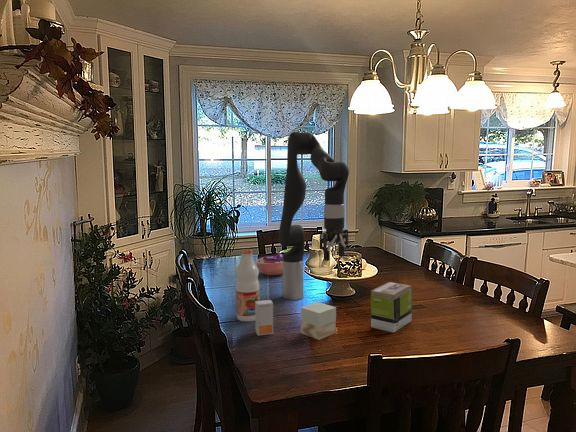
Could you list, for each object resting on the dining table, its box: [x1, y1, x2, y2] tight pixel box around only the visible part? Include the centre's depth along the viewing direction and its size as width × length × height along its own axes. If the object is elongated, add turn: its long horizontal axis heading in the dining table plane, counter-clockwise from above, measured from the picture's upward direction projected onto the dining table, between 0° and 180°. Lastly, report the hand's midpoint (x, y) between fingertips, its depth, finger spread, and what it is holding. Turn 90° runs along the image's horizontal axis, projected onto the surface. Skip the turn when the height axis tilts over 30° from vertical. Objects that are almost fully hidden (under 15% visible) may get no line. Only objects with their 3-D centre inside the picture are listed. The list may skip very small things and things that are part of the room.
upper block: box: [300, 301, 337, 327], centre depth 177 cm, size 9×9×5 cm
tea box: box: [370, 281, 413, 333], centre depth 184 cm, size 15×10×15 cm
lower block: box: [300, 320, 337, 341], centre depth 178 cm, size 9×9×5 cm
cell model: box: [255, 252, 283, 276], centre depth 262 cm, size 17×20×11 cm
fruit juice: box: [235, 248, 261, 323], centre depth 193 cm, size 9×9×28 cm
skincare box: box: [254, 299, 274, 337], centre depth 178 cm, size 6×4×12 cm
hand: (334, 258), depth 182 cm, fingers open, 8 cm apart
